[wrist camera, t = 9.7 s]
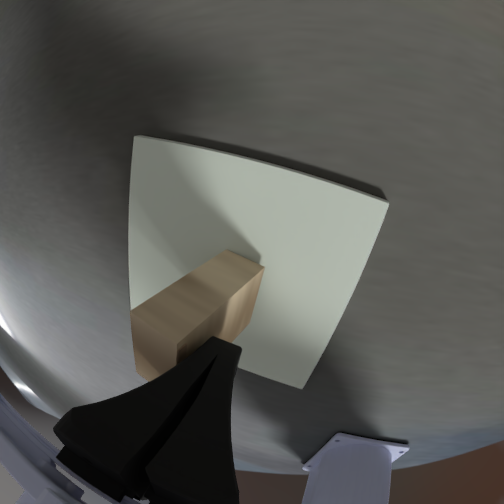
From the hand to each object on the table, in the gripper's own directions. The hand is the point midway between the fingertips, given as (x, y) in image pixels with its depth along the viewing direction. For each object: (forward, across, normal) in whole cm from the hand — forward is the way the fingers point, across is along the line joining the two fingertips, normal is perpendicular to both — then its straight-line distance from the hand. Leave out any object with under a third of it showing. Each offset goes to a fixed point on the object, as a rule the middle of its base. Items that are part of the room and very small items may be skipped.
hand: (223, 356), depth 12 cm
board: (+6, +2, 0) cm, 6 cm away
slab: (+5, +1, 0) cm, 5 cm away
